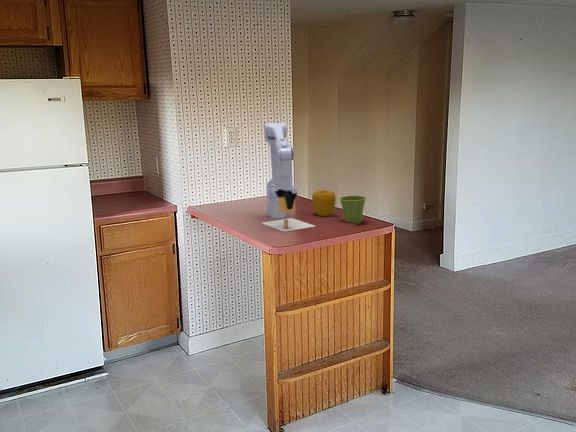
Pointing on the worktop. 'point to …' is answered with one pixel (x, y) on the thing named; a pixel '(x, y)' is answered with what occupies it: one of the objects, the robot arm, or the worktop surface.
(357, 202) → the plant pot
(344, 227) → the worktop surface
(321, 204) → the apple
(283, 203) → the wooden toy cube
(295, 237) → the worktop surface
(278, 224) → the plate
